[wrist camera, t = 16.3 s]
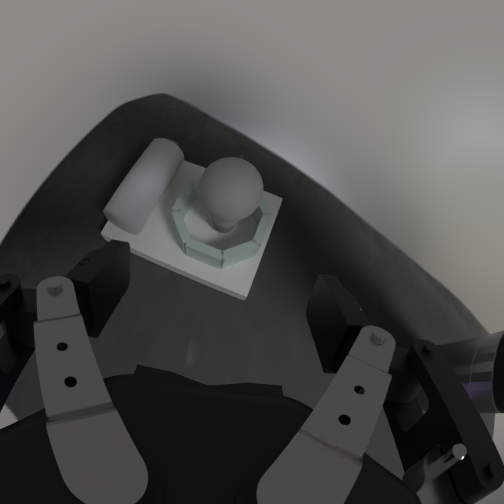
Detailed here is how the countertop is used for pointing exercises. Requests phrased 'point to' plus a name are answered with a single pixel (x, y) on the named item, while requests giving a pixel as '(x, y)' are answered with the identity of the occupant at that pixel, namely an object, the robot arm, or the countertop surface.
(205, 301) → the countertop surface
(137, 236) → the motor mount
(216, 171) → the lightbulb
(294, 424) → the robot arm
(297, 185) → the countertop surface
